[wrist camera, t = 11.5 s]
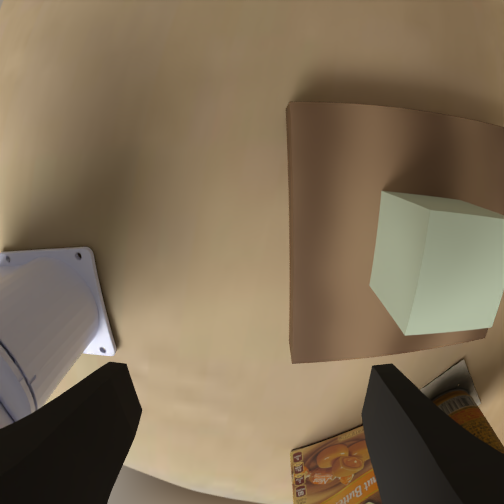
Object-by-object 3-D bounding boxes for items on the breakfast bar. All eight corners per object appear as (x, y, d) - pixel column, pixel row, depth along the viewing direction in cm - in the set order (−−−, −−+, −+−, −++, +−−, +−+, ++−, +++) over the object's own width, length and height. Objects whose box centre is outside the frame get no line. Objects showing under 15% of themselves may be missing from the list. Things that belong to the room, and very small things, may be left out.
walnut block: (288, 336, 20) (292, 363, 18) (285, 109, 16) (289, 101, 13) (465, 318, 20) (484, 338, 17) (486, 129, 16) (514, 130, 13)
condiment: (420, 444, 24) (457, 536, 12) (390, 408, 22) (435, 527, 11) (480, 401, 22) (532, 485, 11) (461, 356, 20) (536, 459, 9)
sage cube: (369, 285, 16) (404, 335, 11) (381, 190, 14) (430, 210, 10) (444, 285, 16) (491, 327, 11) (460, 200, 14) (518, 221, 10)
